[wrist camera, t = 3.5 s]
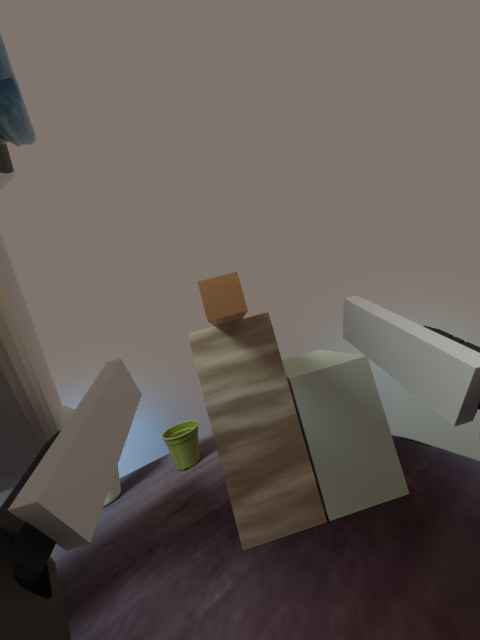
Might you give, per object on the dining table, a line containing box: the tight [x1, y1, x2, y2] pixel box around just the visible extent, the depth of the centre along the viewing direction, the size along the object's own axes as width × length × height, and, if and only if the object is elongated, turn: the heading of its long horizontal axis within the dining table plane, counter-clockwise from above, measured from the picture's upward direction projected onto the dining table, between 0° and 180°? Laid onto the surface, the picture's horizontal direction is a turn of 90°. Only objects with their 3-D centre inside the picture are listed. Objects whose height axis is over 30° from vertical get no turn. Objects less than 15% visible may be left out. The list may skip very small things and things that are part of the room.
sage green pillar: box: [282, 349, 409, 521], centre depth 38 cm, size 16×12×20 cm
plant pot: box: [161, 420, 200, 470], centre depth 54 cm, size 9×9×9 cm
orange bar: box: [198, 272, 248, 326], centre depth 32 cm, size 24×4×4 cm, turn 3°
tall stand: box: [188, 312, 327, 551], centre depth 37 cm, size 16×12×30 cm
